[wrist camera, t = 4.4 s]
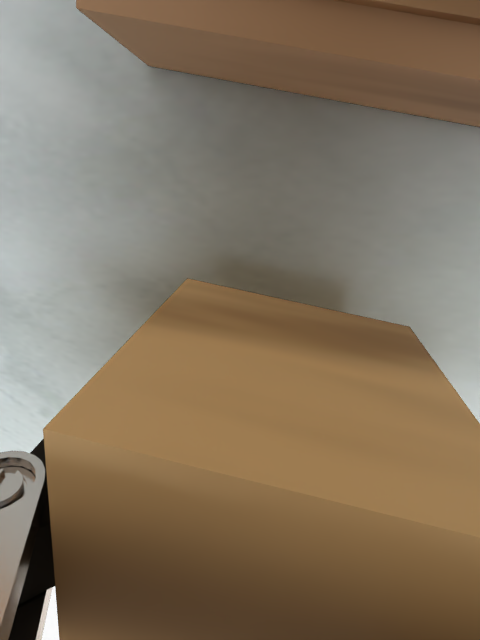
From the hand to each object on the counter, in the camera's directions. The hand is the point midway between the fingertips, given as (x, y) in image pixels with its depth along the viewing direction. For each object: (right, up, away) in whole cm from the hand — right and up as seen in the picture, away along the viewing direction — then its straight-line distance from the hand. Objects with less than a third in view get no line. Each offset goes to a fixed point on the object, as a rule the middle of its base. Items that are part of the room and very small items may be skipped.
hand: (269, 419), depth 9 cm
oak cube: (0, +1, +1) cm, 1 cm away
